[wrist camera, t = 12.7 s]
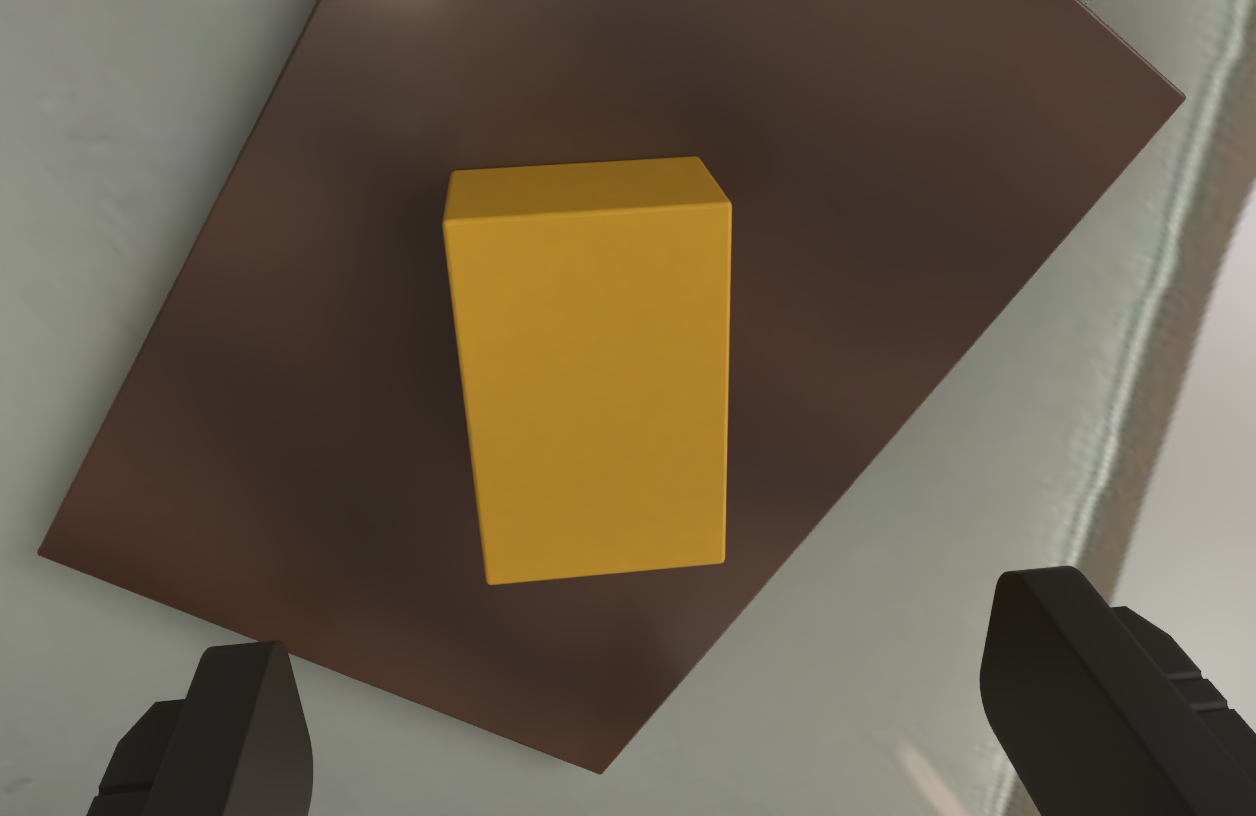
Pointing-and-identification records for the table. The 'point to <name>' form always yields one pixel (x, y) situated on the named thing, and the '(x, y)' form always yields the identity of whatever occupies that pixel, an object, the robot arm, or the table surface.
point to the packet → (593, 363)
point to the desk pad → (426, 341)
